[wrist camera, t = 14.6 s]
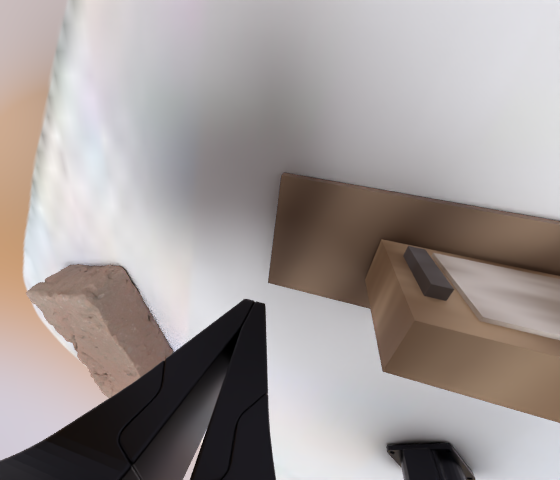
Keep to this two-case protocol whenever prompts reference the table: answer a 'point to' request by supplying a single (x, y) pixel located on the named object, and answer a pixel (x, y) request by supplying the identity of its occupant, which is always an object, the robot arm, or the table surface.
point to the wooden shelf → (390, 235)
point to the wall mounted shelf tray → (468, 326)
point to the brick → (103, 323)
